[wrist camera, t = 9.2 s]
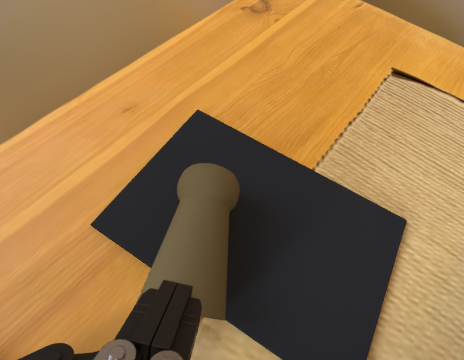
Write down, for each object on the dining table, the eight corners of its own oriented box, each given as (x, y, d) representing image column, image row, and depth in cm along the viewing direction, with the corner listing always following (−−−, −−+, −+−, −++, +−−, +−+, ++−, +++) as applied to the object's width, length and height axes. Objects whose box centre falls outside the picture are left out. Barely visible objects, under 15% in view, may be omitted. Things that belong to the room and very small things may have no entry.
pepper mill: (234, 322, 15) (256, 164, 20) (130, 303, 15) (180, 144, 20) (216, 318, 21) (237, 193, 26) (139, 304, 20) (177, 178, 25)
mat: (197, 112, 30) (197, 109, 29) (403, 221, 25) (407, 220, 25) (92, 226, 23) (89, 224, 22) (349, 406, 18) (352, 408, 18)
